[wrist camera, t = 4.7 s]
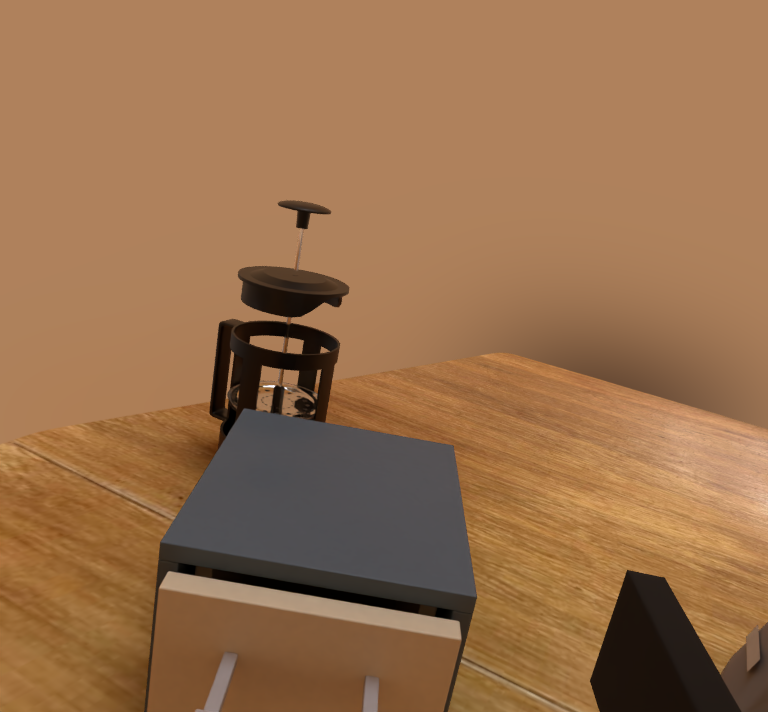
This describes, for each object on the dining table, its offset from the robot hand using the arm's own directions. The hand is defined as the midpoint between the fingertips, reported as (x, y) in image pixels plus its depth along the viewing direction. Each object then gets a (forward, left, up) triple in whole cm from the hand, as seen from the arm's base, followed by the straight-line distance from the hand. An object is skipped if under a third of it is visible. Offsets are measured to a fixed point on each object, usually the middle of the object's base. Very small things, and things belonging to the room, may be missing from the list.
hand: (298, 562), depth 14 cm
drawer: (+7, -15, -19) cm, 25 cm away
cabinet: (+9, -19, -20) cm, 29 cm away
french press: (+25, -35, -20) cm, 48 cm away
